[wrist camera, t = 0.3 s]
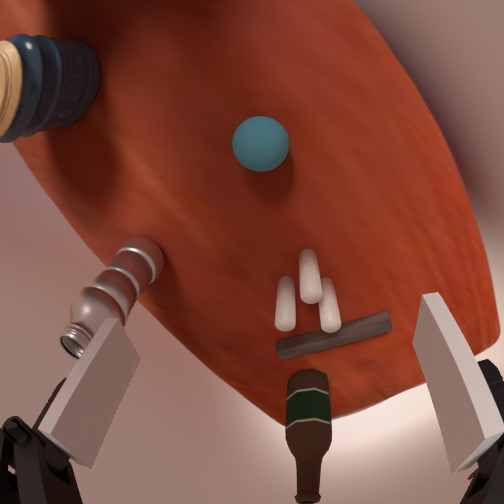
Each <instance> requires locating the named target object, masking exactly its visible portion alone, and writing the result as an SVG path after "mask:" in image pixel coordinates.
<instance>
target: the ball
mask: <svg viewBox="0 0 504 504" xmlns="http://www.w3.org/2000/svg"><path fill="white" fill-rule="evenodd" d="M232 148H233V152H234V155H235V157H236V159H237V160H238V161H239V162H240V163H241V164H242V165H243V166H244V167H246V168H248V169H250V170H253V171H259V172H264V171H269V170H272V169H274V168H276V167H277V166H279V165H280V164H281V163H282V162H283V161H284V159H285V158H286V156H287V154H288V151H289V137H288V134H287V132H286V130H285V129H284V127H283V126H282V125H281V124H280V123H279V122H277V121H276V120H274V119H272V118H269V117H265V116H256V117H252V118H249V119H247V120H245V121H244V122H242V123H241V124H240V125H239V126H238V128H237V129H236V131H235V133H234V135H233V139H232Z"/></svg>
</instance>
